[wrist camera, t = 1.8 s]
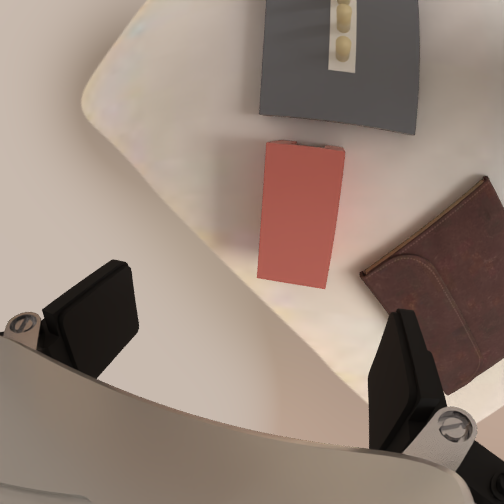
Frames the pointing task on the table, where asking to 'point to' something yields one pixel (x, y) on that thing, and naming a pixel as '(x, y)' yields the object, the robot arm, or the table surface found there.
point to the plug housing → (299, 212)
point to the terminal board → (342, 62)
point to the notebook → (452, 285)
